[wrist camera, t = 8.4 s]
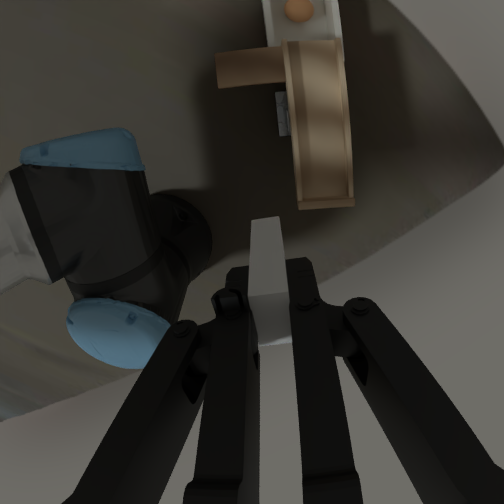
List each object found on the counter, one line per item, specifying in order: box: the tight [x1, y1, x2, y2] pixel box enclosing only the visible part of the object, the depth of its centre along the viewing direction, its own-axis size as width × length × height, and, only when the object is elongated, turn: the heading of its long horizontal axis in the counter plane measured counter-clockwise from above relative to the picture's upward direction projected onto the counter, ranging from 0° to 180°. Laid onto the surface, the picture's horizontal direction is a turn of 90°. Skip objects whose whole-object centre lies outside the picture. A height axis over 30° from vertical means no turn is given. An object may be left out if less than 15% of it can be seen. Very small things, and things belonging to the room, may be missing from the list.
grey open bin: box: [261, 0, 345, 61], centre depth 30 cm, size 9×12×8 cm
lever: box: [214, 38, 355, 210], centre depth 32 cm, size 18×13×5 cm
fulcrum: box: [275, 91, 291, 136], centre depth 36 cm, size 6×8×8 cm
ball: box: [284, 0, 314, 22], centre depth 30 cm, size 4×4×4 cm
